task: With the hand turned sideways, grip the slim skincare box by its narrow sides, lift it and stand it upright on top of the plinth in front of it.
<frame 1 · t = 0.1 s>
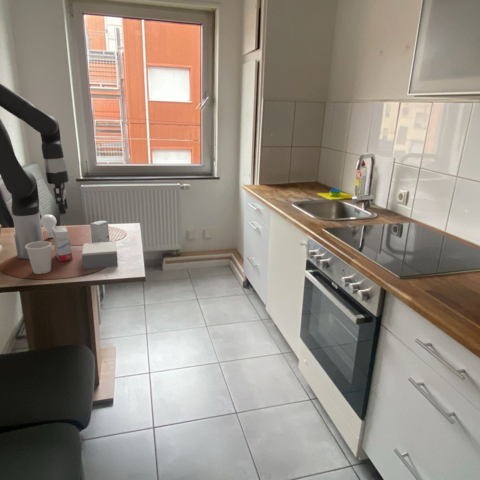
hand: (63, 211, 150), 17 cm above the table, tool pointing down, fingers open, 8 cm apart
skincare box: (101, 250, 159), on the table
lightbulb: (50, 238, 172), on the table
ink box: (63, 258, 149), on the table
dixie cup: (42, 271, 137), on the table
plinth: (101, 261, 146), on the table
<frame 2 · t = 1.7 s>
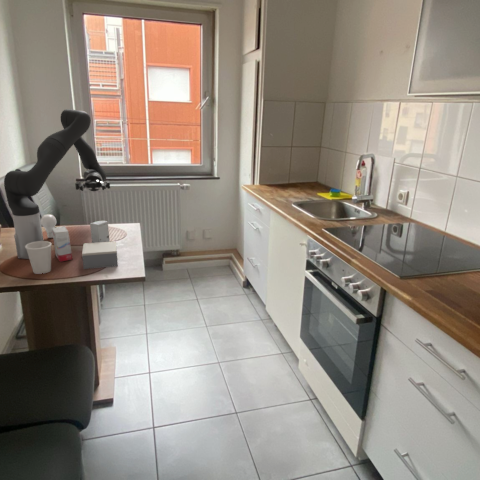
hand: (92, 188, 163), 24 cm above the table, tool horizontal, fingers open, 8 cm apart
nothing on the table moved.
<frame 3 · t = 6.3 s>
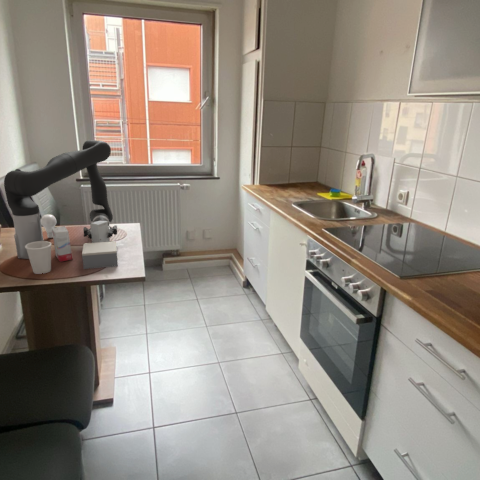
hand: (100, 235, 156), 7 cm above the table, tool horizontal, fingers closed on skincare box, 7 cm apart
skincare box: (101, 250, 159), on the table, touching gripper
everything else where it was.
when the fingers open (14 cm above the table, at t = 12.5 s): skincare box drops 1 cm, resting on plinth.
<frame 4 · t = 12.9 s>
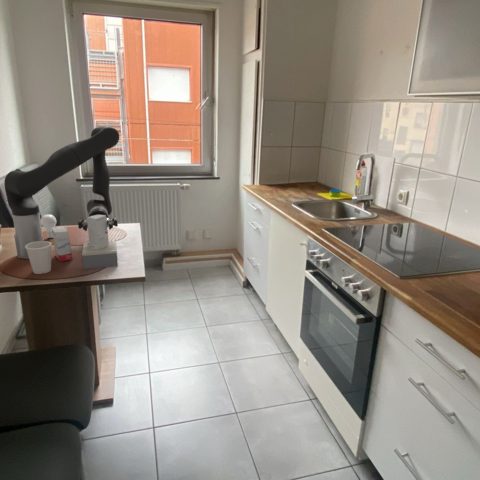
hand: (97, 227, 141), 14 cm above the table, tool horizontal, fingers open, 8 cm apart
skincare box: (99, 247, 145), point 6 cm above the table, touching plinth
everything else where it was.
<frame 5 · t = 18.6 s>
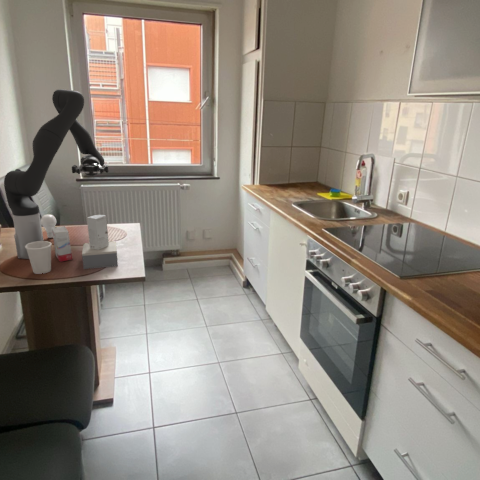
hand: (89, 171, 154), 32 cm above the table, tool horizontal, fingers open, 8 cm apart
nothing on the table moved.
at the end: skincare box inside the target area on the plinth (0.2 cm from its centre), point 5.8 cm above the plinth's base; skincare box tilted 0°; the gripper is holding nothing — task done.
